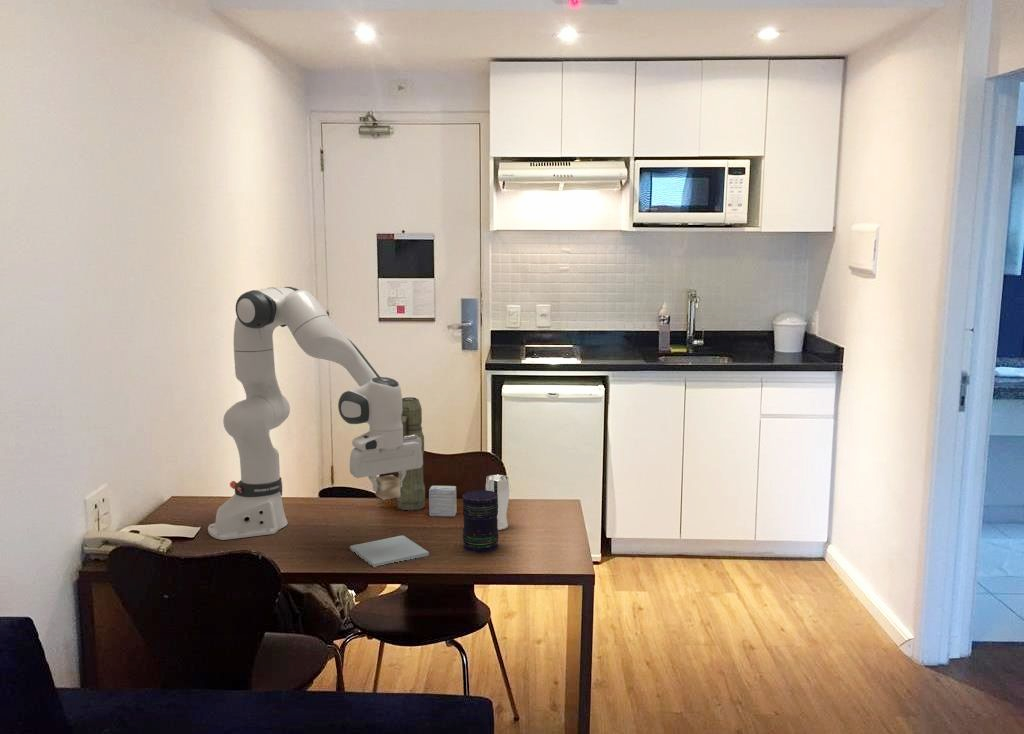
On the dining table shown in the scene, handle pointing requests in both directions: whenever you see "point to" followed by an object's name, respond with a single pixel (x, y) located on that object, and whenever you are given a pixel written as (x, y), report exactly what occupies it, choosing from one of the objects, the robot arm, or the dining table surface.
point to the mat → (389, 550)
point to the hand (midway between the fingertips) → (387, 488)
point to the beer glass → (500, 497)
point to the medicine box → (442, 501)
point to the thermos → (413, 480)
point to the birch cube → (388, 487)
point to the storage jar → (480, 521)
